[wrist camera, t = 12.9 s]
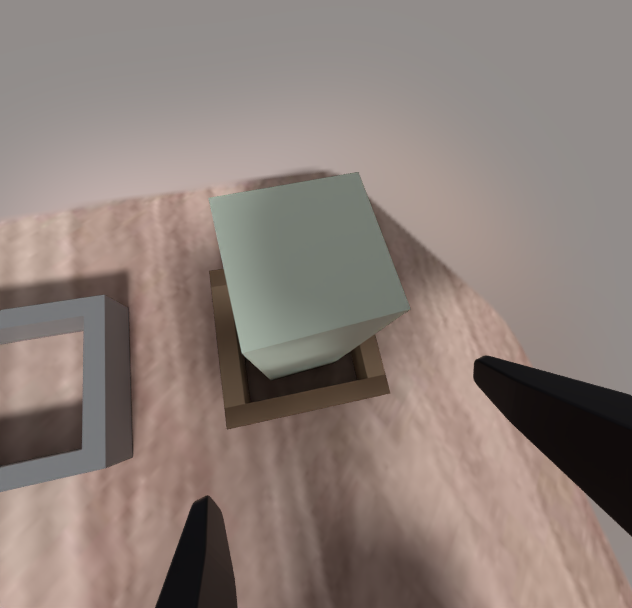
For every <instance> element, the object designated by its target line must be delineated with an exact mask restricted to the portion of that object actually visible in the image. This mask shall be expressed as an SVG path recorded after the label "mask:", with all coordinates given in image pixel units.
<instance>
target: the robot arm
mask: <svg viewBox="0 0 632 608" xmlns="http://www.w3.org/2000/svg"><path fill="white" fill-rule="evenodd" d="M473 378H474V381H475V383H476V384H477V385H478V387H479V388H480V389H481V390H482V391H483V392H484V393H485V395H486V396H487V397H488V398H489V399H490V400H491V401H492V402H493V404H494V405H495V406H496V407H497V408H498V409H499V410H500V411H501V413H502V414H503V415H504V416H505V417H506V418H507V419H508V420H509V421H510V422H511V423H512V424H513V425H514V426H515V427H516V428H517V429H518V430H519V431H520V432H521V433H522V434H523V435H524V436H525V437H526V438H527V439H529V440H530V441H531V442H532V443H533V444H534V445H535V446H536V447H537V448H538V449H539V450H540V451H541V452H542V453H543V454H544V455H546V456H547V457H548V458H549V459H550V460H551V461H552V462H553V463H554V464H555V465H556V466H557V467H558V468H559V469H560V470H561V471H562V472H564V473H565V474H566V475H567V476H568V477H569V478H570V479H571V480H572V481H573V482H574V483H575V484H576V485H577V486H578V487H579V488H581V489H582V490H583V491H584V492H585V493H586V494H587V495H588V496H589V497H590V498H591V499H592V500H593V501H594V502H595V503H596V504H598V505H599V506H600V507H601V508H602V509H603V510H604V511H605V512H606V513H607V514H608V515H609V516H610V517H612V519H613V520H614V521H616V522H617V523H618V524H619V525H620V526H621V527H622V528H623V529H624V530H625V531H626V532H627V533H629V535H631V536H632V396H631V395H629V394H626V393H622V392H619V391H615V390H611V389H607V388H604V387H600V386H596V385H593V384H590V383H586V382H582V381H579V380H575V379H571V378H568V377H564V376H560V375H557V374H553V373H550V372H546V371H542V370H539V369H535V368H531V367H528V366H524V365H520V364H517V363H513V362H510V361H506V360H502V359H499V358H495V357H491V356H482V357H480V358H478V359H476V360H475V362H474V372H473ZM155 608H238V607H237V596H236V586H235V578H234V572H233V566H232V561H231V556H230V551H229V545H228V540H227V535H226V530H225V524H224V519H223V515H222V512H221V510H220V508H219V507H218V506H217V504H216V503H215V502H214V501H213V499H212V498H211V497H210V496H205V497H203V498H201V499H199V500H197V501H195V502H194V503H193V505H192V507H191V509H190V512H189V515H188V518H187V520H186V523H185V526H184V529H183V532H182V534H181V537H180V540H179V543H178V545H177V548H176V551H175V554H174V557H173V559H172V562H171V565H170V568H169V570H168V573H167V576H166V579H165V582H164V584H163V587H162V590H161V593H160V595H159V598H158V601H157V604H156V607H155Z"/></svg>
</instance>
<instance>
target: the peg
mask: <svg viewBox="0 0 632 608" xmlns="http://www.w3.org/2000/svg"><path fill="white" fill-rule="evenodd" d="M209 203H210V207H211V212H212V217H213V221H214V226H215V231H216V235H217V240H218V245H219V249H220V254H221V259H222V263H223V268H224V272H225V277H226V282H227V286H228V291H229V296H230V300H231V305H232V310H233V314H234V319H235V324H236V328H237V333H238V338H239V342H240V347H241V352H242V354H243V355H244V356H245V357H246V358H247V359H248V360H249V361H251V362H252V363H253V364H254V365H255V366H256V367H257V368H258V369H259V370H260V371H261V372H262V373H264V374H265V375H266V376H267V377H268V378H269V379H270V380H274V379H278V378H281V377H285V376H288V375H292V374H295V373H299V372H303V371H306V370H310V369H313V368H317V367H320V366H324V365H327V364H331V363H334V362H336V361H337V360H339V359H340V358H341V357H343V356H344V355H346V354H347V353H349V352H350V351H351V350H353V349H354V348H356V347H357V346H359V345H360V344H361V343H363V342H364V341H366V340H367V339H369V338H370V337H371V336H373V335H374V334H376V333H377V332H379V331H380V330H381V329H383V328H384V327H386V326H387V325H389V324H390V323H391V322H393V321H394V320H396V319H397V318H399V317H400V316H401V315H403V314H404V313H406V312H407V311H409V310H410V306H409V304H408V301H407V298H406V296H405V293H404V290H403V288H402V285H401V283H400V280H399V277H398V275H397V272H396V269H395V267H394V264H393V262H392V259H391V256H390V254H389V251H388V248H387V246H386V243H385V241H384V238H383V235H382V233H381V230H380V227H379V225H378V222H377V220H376V217H375V214H374V212H373V209H372V207H371V204H370V201H369V199H368V196H367V193H366V191H365V188H364V186H363V183H362V180H361V178H360V175H359V172H355V173H350V174H344V175H338V176H332V177H327V178H321V179H315V180H309V181H304V182H298V183H292V184H286V185H281V186H275V187H269V188H263V189H258V190H252V191H246V192H240V193H235V194H229V195H223V196H217V197H211V198H209Z"/></svg>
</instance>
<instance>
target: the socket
mask: <svg viewBox="0 0 632 608" xmlns="http://www.w3.org/2000/svg"><path fill="white" fill-rule="evenodd" d="M79 331H84V343H83V413H82V448H81V449H77V450H72V451H67V452H63V453H58V454H54V455H49V456H44V457H40V458H35V459H30V460H26V461H21V462H16V463H12V464H7V465H2V466H0V492H3V491H7V490H12V489H16V488H20V487H25V486H29V485H34V484H38V483H42V482H47V481H51V480H56V479H60V478H64V477H69V476H73V475H78V474H82V473H87V472H91V471H95V470H100V469H104V468H107V467H110V466H112V465H115V464H117V463H120V462H122V461H125V460H127V459H130V458H132V457H133V452H132V418H131V383H130V348H129V313H128V307H126V306H124V305H122V304H121V303H119V302H117V301H115V300H113V299H111V298H110V297H108V296H106V295H99V296H92V297H85V298H79V299H72V300H65V301H58V302H52V303H45V304H38V305H31V306H25V307H18V308H11V309H4V310H0V344H6V343H12V342H18V341H24V340H30V339H36V338H42V337H49V336H55V335H61V334H67V333H73V332H79Z"/></svg>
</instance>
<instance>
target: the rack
mask: <svg viewBox="0 0 632 608" xmlns="http://www.w3.org/2000/svg"><path fill="white" fill-rule="evenodd" d="M209 273H210V282H211V291H212V300H213V309H214V318H215V327H216V336H217V345H218V354H219V363H220V372H221V381H222V390H223V399H224V408H225V417H226V426H227V429H231V428H236V427H240V426H245V425H250V424H254V423H259V422H263V421H268V420H272V419H277V418H281V417H286V416H290V415H295V414H299V413H304V412H308V411H313V410H317V409H322V408H326V407H331V406H335V405H340V404H344V403H349V402H353V401H358V400H363V399H367V398H372V397H376V396H381V395H385V394H390V390H389V386H388V382H387V378H386V375H385V371H384V367H383V363H382V359H381V355H380V352H379V348H378V344H377V340H376V336H375V334H374V335H373V336H371V337H370V338H369V339H367V340H366V341H364V342H363V343H361V344H360V345H359V346H357V347H356V348H354V349H353V350H351V355H352V360H353V364H354V368H355V373H356V377H357V380H356V381H351V382H347V383H342V384H337V385H333V386H328V387H323V388H318V389H314V390H309V391H304V392H299V393H295V394H290V395H285V396H280V397H276V398H271V399H266V400H261V401H257V402H252V403H251V402H250V394H249V387H248V379H247V372H246V364H245V357H244V355H243V354H242V352H241V347H240V342H239V338H238V333H237V328H236V324H235V319H234V314H233V310H232V305H231V300H230V296H229V291H228V286H227V282H226V277H225V272H224V269H219V270H212V271H209Z"/></svg>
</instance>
